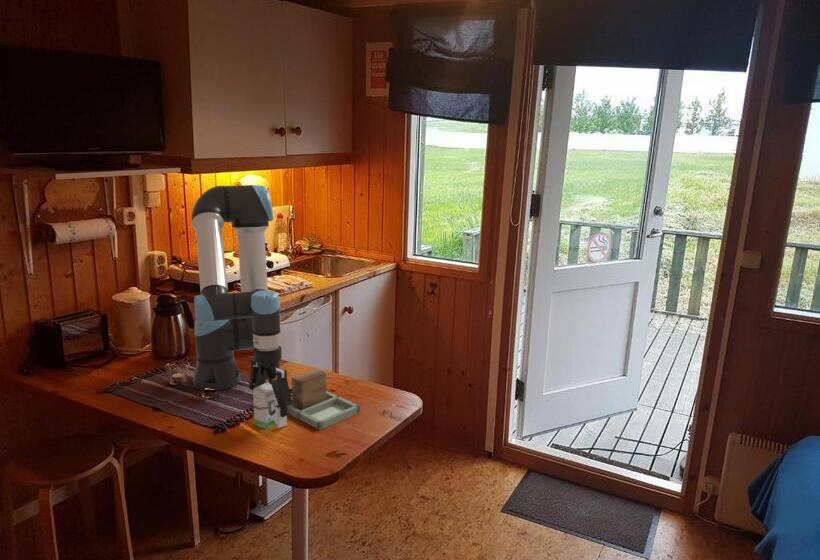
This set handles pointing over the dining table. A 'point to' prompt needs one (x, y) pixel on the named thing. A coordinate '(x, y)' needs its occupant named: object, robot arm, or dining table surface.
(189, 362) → the dining table surface
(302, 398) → the walnut block
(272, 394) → the ink box
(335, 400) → the slot board
